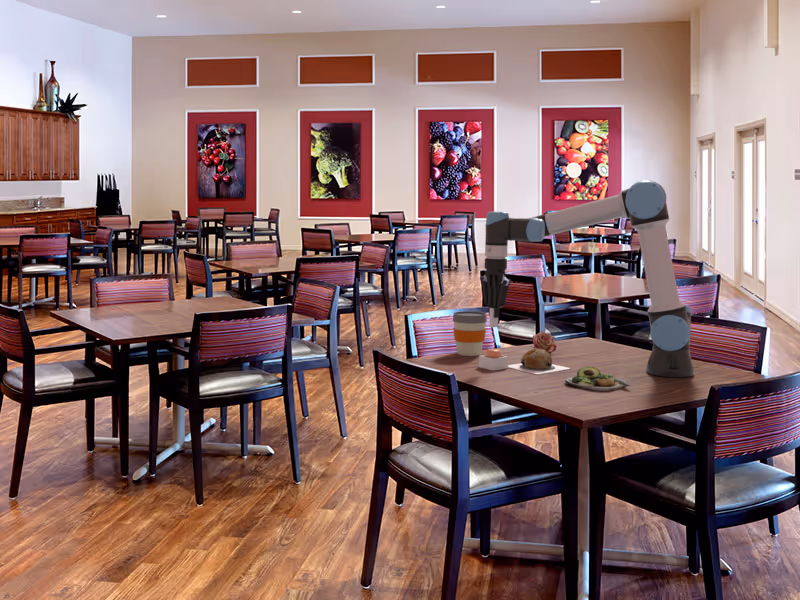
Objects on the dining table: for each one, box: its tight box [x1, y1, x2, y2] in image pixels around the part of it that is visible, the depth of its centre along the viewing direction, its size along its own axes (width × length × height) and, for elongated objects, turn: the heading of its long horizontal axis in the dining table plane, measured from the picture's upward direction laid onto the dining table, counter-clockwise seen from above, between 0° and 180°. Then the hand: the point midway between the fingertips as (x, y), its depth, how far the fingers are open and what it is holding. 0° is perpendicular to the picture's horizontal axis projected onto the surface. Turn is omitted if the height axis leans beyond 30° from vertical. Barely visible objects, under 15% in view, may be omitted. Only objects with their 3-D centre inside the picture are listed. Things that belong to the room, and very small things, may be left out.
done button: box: [485, 348, 502, 358], centre depth 294 cm, size 5×5×3 cm
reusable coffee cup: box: [452, 310, 488, 357], centre depth 319 cm, size 13×13×15 cm
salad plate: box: [564, 366, 631, 392], centre depth 269 cm, size 19×18×5 cm
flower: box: [529, 331, 557, 356], centre depth 319 cm, size 10×9×8 cm
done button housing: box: [478, 354, 509, 371], centre depth 294 cm, size 7×7×4 cm
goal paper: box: [507, 362, 572, 376], centre depth 294 cm, size 16×16×1 cm
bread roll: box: [520, 348, 553, 370], centre depth 294 cm, size 10×10×8 cm
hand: (493, 326), depth 293 cm, fingers closed
